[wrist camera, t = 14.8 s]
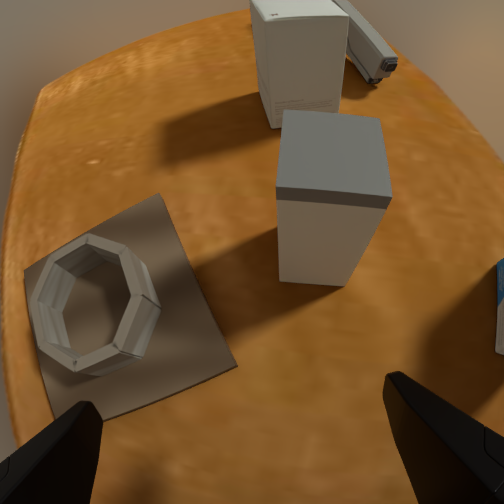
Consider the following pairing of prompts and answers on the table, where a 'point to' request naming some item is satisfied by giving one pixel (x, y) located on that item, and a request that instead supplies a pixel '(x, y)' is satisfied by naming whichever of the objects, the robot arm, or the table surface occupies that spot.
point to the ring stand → (122, 316)
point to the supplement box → (299, 55)
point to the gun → (367, 46)
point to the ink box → (500, 308)
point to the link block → (328, 194)
